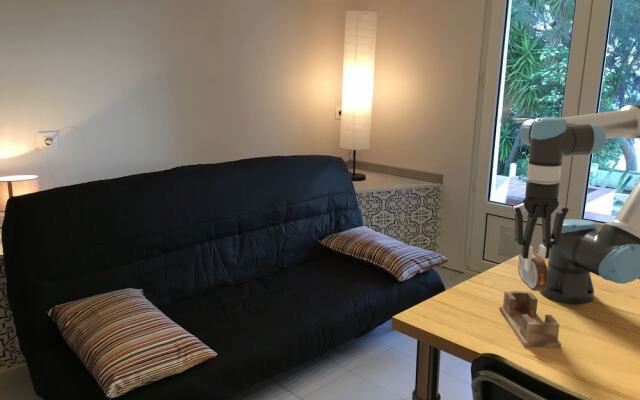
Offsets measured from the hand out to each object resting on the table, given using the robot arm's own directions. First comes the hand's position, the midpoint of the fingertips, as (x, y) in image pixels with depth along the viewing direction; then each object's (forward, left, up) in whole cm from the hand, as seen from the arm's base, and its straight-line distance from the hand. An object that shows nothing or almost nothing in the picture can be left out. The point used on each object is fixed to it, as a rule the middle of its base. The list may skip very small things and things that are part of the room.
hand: (533, 269), depth 134 cm
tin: (0, -1, -5) cm, 5 cm away
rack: (0, 0, -16) cm, 16 cm away
